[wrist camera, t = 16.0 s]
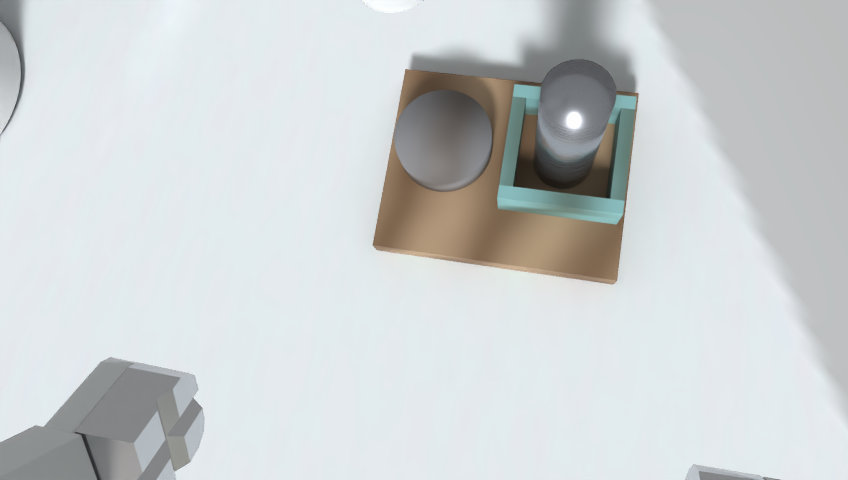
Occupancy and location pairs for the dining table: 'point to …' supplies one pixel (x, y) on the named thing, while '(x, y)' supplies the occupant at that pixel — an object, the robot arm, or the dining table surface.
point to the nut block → (498, 182)
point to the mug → (391, 5)
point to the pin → (572, 121)
